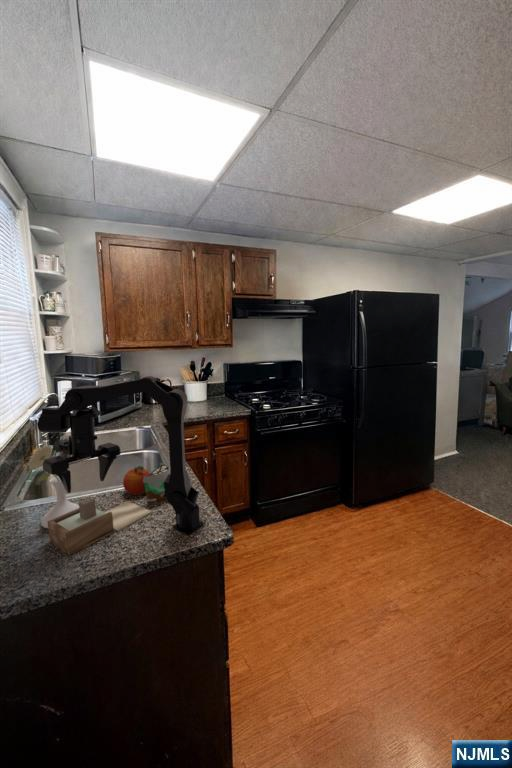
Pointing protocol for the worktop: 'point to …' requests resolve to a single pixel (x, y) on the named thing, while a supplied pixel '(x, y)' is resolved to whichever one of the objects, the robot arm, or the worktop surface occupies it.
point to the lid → (82, 515)
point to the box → (79, 532)
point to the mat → (127, 515)
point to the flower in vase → (62, 503)
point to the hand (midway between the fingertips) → (86, 486)
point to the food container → (156, 484)
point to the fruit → (135, 481)
